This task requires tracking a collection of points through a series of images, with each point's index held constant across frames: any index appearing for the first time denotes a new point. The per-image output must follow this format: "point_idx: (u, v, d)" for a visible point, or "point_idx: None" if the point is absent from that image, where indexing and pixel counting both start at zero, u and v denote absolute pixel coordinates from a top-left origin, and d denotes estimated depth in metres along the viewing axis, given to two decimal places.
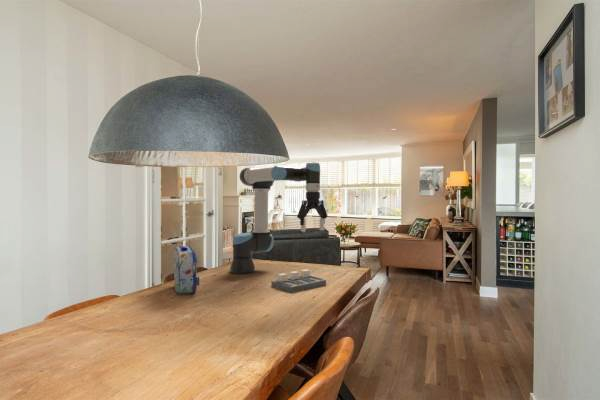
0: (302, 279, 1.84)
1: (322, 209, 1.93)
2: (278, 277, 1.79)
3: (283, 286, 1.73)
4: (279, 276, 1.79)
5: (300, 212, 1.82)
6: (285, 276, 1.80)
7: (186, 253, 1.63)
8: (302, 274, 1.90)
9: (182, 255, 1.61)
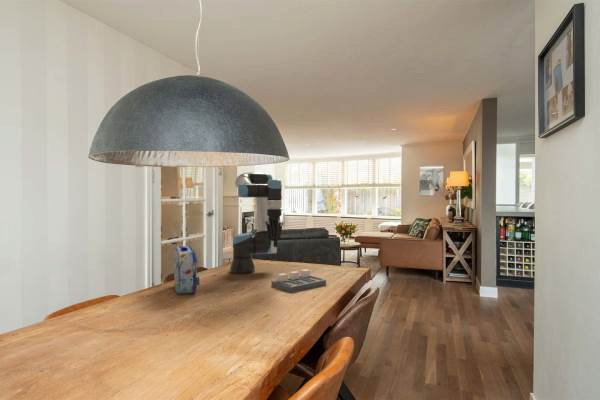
0: (302, 279, 1.84)
1: None
2: (278, 277, 1.79)
3: (283, 286, 1.73)
4: (279, 276, 1.79)
5: None
6: (285, 276, 1.80)
7: (186, 253, 1.63)
8: (302, 274, 1.90)
9: (182, 255, 1.61)
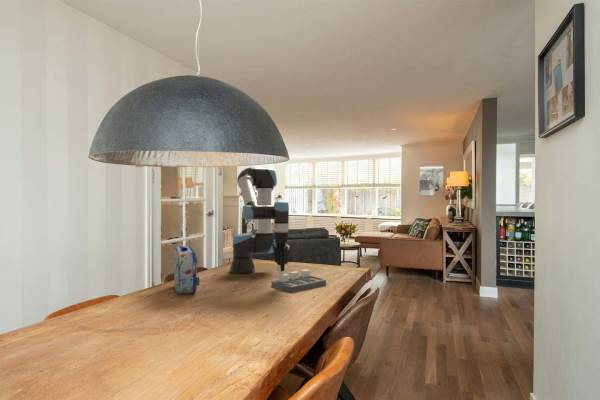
0: (302, 279, 1.84)
1: None
2: (280, 277, 1.78)
3: (283, 286, 1.73)
4: (281, 276, 1.78)
5: None
6: (287, 276, 1.79)
7: (186, 253, 1.63)
8: (302, 274, 1.90)
9: (182, 255, 1.61)
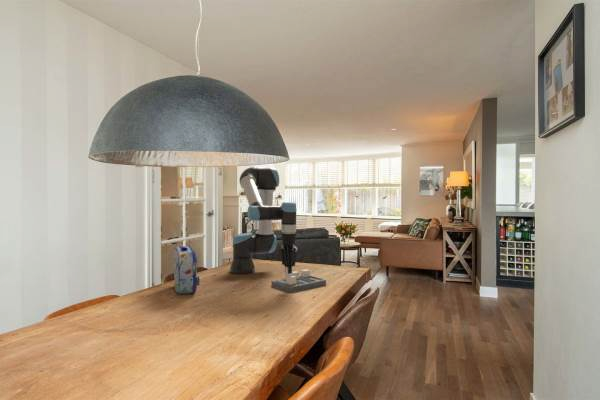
0: (302, 279, 1.84)
1: None
2: (287, 280, 1.74)
3: (283, 286, 1.73)
4: (288, 278, 1.73)
5: None
6: (294, 278, 1.74)
7: (186, 253, 1.63)
8: (302, 274, 1.90)
9: (182, 255, 1.61)
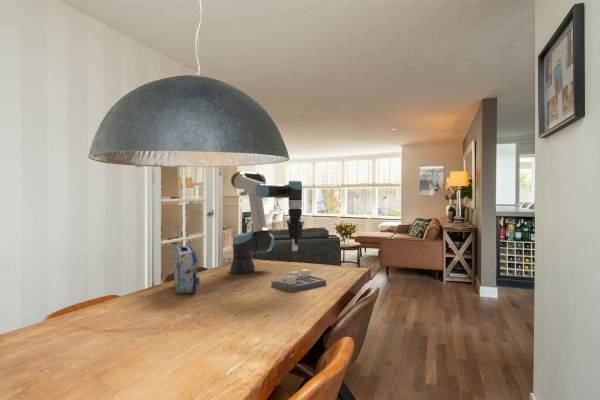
0: (302, 279, 1.84)
1: None
2: (287, 280, 1.74)
3: (283, 286, 1.73)
4: (288, 278, 1.73)
5: None
6: (294, 278, 1.74)
7: (186, 253, 1.63)
8: (302, 274, 1.90)
9: (182, 255, 1.61)
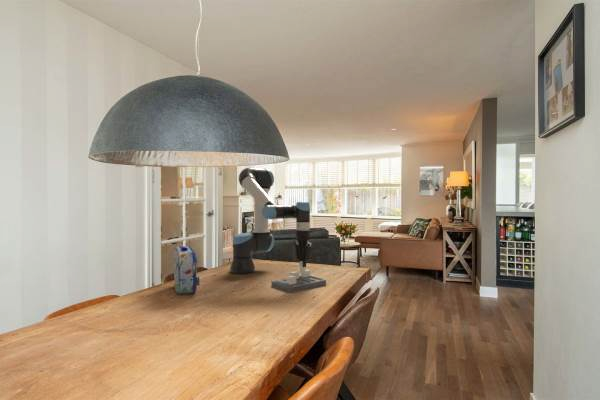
0: (302, 279, 1.84)
1: None
2: (287, 280, 1.74)
3: (283, 286, 1.73)
4: (288, 278, 1.73)
5: None
6: (294, 278, 1.74)
7: (186, 253, 1.63)
8: (302, 274, 1.89)
9: (182, 255, 1.61)
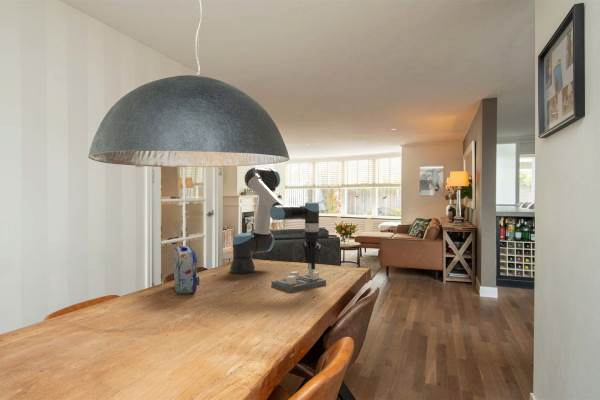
0: (302, 279, 1.84)
1: None
2: (287, 280, 1.74)
3: (283, 286, 1.73)
4: (288, 278, 1.73)
5: None
6: (294, 278, 1.74)
7: (186, 253, 1.63)
8: (311, 276, 1.84)
9: (182, 255, 1.61)
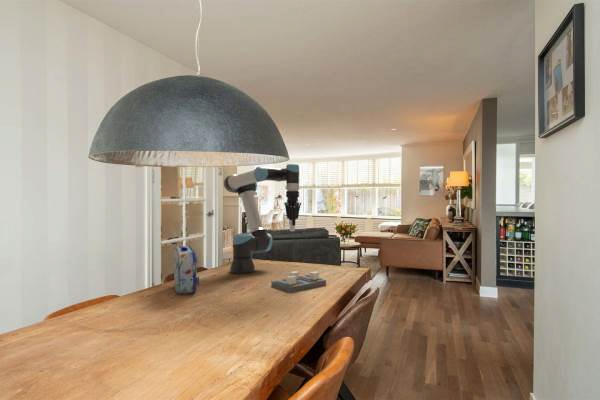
0: (302, 279, 1.84)
1: None
2: (287, 280, 1.74)
3: (283, 286, 1.73)
4: (288, 278, 1.73)
5: None
6: (294, 278, 1.74)
7: (186, 253, 1.63)
8: (311, 276, 1.84)
9: (182, 255, 1.61)
